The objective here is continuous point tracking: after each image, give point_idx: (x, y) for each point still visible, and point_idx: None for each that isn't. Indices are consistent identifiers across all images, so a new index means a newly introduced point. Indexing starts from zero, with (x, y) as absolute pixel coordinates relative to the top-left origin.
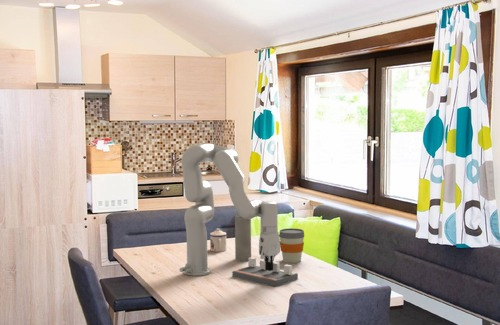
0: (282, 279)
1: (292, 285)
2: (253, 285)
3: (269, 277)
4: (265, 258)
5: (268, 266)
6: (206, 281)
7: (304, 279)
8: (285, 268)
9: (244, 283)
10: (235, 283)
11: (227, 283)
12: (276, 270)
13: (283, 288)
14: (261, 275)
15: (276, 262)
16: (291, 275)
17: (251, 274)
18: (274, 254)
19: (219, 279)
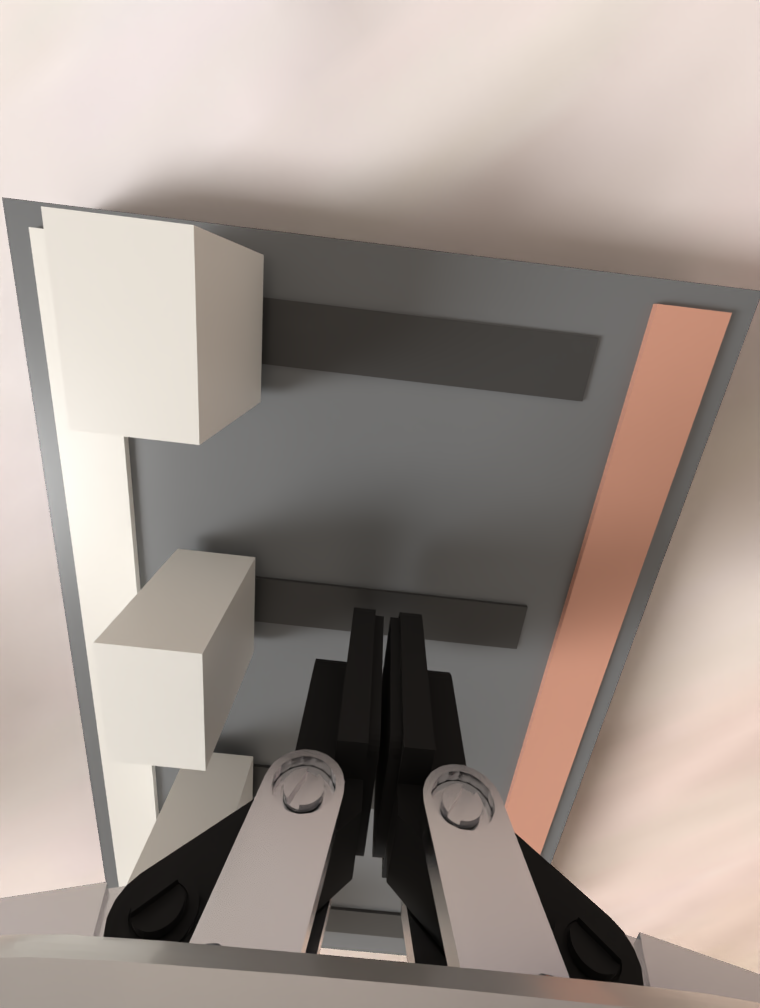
0: (523, 265)
1: (483, 50)
2: (730, 594)
3: (566, 513)
4: (633, 957)
5: (452, 703)
6: (745, 968)
7: (10, 74)
8: (225, 377)
9: (683, 712)
10: (719, 778)
11: (748, 830)
12: (247, 581)
13: (738, 97)
14: (517, 663)
15: (116, 713)
16: (226, 225)
17: (555, 776)
18: (356, 980)
19: (638, 929)
